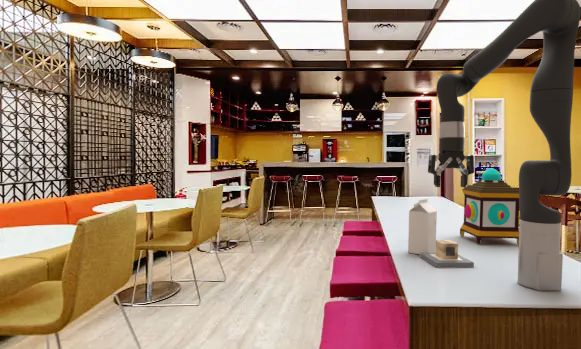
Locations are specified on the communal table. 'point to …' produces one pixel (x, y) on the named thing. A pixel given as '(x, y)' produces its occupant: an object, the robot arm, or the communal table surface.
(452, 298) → the communal table surface
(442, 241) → the marked cube
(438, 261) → the slate board
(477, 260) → the communal table surface
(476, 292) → the communal table surface
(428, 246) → the milk carton
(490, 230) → the decorative lantern
